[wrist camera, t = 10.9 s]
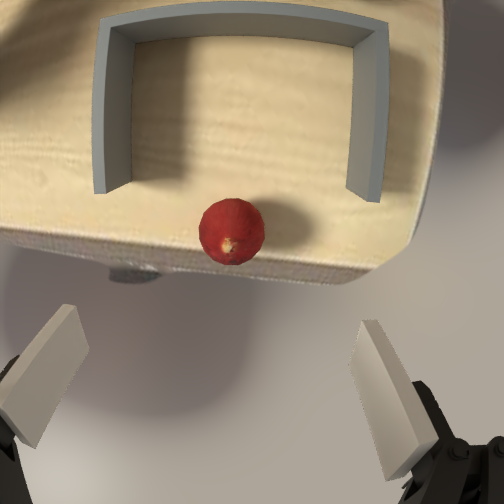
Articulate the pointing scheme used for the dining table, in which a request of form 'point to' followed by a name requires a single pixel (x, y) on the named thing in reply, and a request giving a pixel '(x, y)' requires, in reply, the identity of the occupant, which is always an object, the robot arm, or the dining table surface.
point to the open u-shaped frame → (244, 24)
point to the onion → (231, 231)
